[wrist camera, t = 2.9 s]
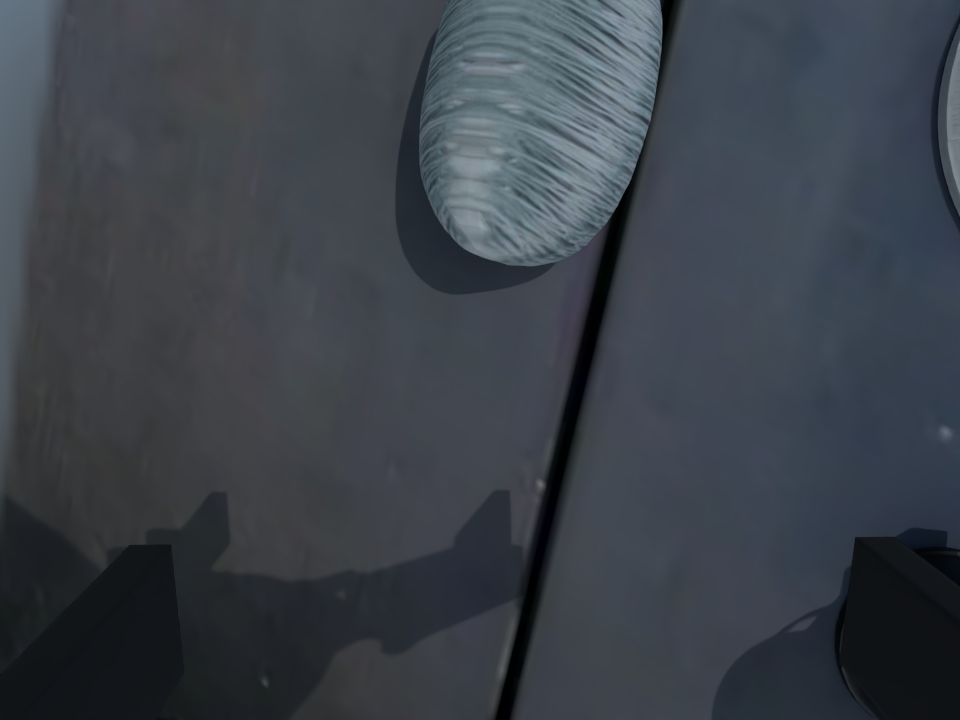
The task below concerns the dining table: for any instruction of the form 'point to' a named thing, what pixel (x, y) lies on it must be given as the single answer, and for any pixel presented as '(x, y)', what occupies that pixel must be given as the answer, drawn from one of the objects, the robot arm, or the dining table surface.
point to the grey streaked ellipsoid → (536, 120)
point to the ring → (951, 120)
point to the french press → (944, 559)
